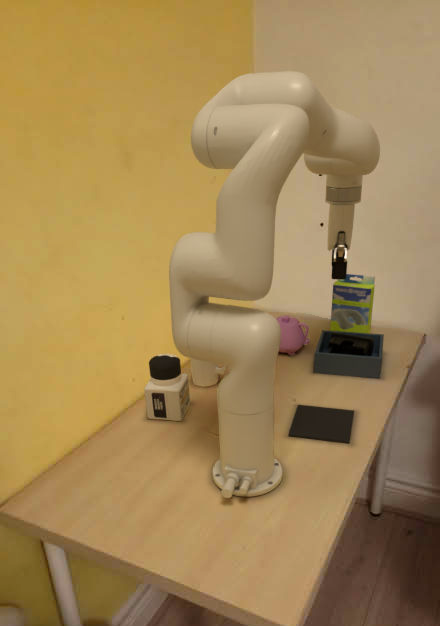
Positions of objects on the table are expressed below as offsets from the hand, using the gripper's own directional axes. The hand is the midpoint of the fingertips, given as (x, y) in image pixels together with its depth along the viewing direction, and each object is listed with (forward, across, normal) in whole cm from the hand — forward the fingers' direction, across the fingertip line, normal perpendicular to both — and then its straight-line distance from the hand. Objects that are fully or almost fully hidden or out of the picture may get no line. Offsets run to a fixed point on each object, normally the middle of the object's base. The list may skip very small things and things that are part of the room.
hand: (338, 272), depth 124 cm
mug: (+24, +13, -29) cm, 39 cm away
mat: (+23, +29, -2) cm, 37 cm away
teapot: (+24, -8, -13) cm, 28 cm away
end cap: (+23, -1, +4) cm, 24 cm away
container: (+23, +27, -35) cm, 50 cm away
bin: (+23, -1, +4) cm, 24 cm away
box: (+24, -17, +5) cm, 29 cm away
